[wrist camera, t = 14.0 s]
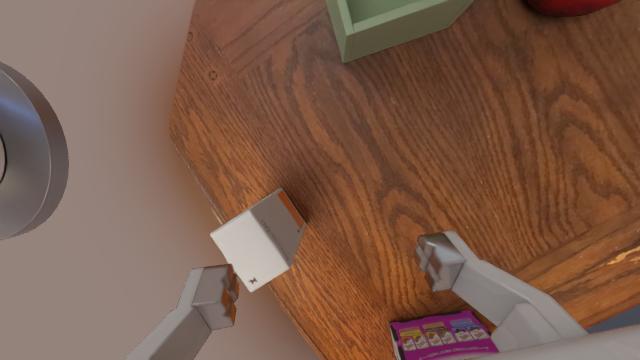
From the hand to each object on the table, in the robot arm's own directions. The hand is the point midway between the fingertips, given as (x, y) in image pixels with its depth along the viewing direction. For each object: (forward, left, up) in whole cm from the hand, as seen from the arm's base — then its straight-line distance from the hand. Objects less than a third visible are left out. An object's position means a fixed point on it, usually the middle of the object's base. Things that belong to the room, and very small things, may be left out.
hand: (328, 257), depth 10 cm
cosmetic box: (-5, -5, -20) cm, 21 cm away
